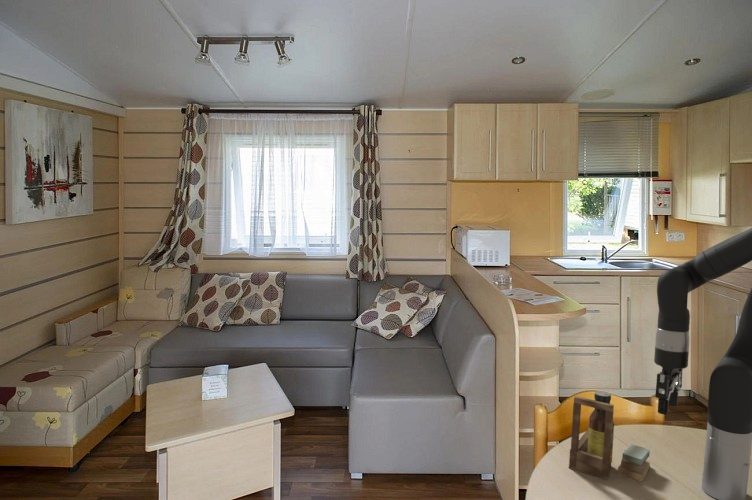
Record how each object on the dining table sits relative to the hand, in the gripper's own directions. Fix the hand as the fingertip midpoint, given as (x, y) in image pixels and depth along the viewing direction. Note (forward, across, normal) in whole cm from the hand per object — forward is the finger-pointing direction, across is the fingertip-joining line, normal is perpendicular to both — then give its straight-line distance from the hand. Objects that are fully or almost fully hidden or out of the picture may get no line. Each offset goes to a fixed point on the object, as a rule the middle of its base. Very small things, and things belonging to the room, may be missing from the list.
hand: (667, 409), depth 140 cm
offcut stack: (+18, -1, +7) cm, 19 cm away
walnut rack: (+18, -4, +16) cm, 24 cm away
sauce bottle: (+18, -5, +14) cm, 24 cm away
